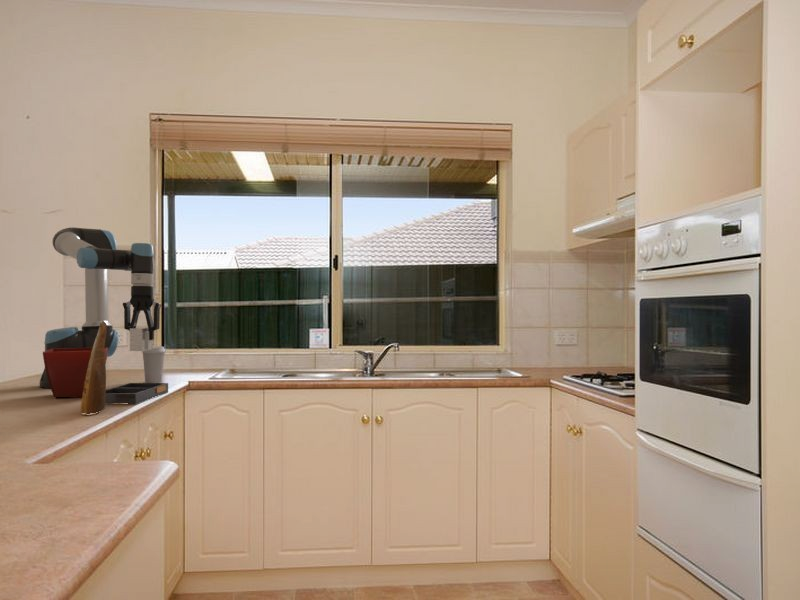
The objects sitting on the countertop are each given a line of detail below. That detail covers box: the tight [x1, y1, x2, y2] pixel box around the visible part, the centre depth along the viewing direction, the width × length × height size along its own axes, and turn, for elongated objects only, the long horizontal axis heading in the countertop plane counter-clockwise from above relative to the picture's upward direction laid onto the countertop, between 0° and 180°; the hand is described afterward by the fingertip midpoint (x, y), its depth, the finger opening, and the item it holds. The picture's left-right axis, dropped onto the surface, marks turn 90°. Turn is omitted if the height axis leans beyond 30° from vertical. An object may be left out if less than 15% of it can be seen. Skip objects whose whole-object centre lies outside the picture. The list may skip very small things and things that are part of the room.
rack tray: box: [105, 382, 169, 405], centre depth 218 cm, size 15×28×4 cm, turn 179°
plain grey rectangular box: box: [129, 327, 155, 352], centre depth 225 cm, size 4×10×8 cm, turn 0°
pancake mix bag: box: [80, 321, 107, 414], centre depth 191 cm, size 7×19×28 cm, turn 16°
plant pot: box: [42, 347, 108, 398], centre depth 223 cm, size 19×19×17 cm
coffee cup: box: [141, 345, 166, 383], centre depth 260 cm, size 10×10×15 cm
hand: (141, 348), depth 225 cm, fingers closed on plain grey rectangular box, 4 cm apart
